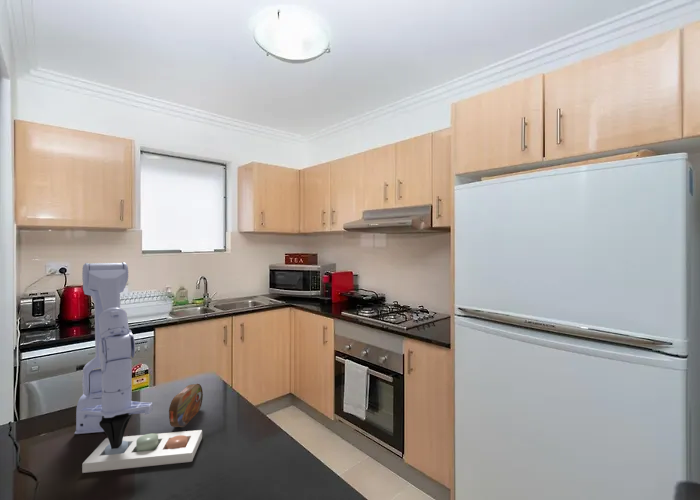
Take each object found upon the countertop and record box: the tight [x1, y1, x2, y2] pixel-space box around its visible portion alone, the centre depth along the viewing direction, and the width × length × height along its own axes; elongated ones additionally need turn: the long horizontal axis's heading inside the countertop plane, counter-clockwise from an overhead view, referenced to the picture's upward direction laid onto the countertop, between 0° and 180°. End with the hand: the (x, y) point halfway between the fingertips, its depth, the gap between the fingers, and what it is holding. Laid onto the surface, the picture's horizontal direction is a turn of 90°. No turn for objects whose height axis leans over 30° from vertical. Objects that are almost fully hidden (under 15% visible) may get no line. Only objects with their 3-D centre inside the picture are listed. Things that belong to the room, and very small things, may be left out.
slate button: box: [105, 441, 128, 455], centre depth 80 cm, size 4×4×2 cm
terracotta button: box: [167, 435, 188, 449], centre depth 82 cm, size 4×4×2 cm
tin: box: [168, 383, 204, 428], centre depth 97 cm, size 15×3×8 cm, turn 179°
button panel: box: [81, 429, 203, 474], centre depth 81 cm, size 22×10×2 cm, turn 101°
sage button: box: [136, 433, 158, 452], centre depth 81 cm, size 4×4×2 cm
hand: (116, 446), depth 80 cm, fingers closed, pressing on slate button
